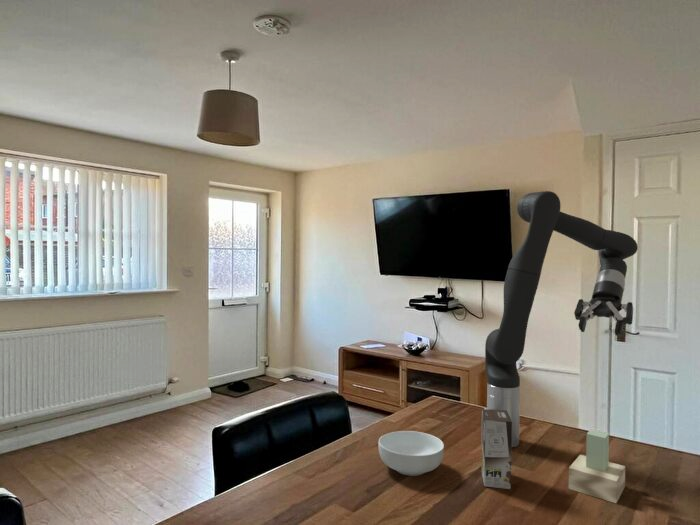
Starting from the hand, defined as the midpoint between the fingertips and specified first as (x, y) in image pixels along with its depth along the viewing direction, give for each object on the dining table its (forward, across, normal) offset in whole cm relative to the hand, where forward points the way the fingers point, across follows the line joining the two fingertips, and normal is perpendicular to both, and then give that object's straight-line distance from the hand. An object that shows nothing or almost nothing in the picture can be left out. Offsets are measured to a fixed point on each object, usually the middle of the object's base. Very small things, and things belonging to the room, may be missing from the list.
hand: (599, 332), depth 127 cm
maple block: (+38, +4, +11) cm, 40 cm away
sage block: (+34, +4, +8) cm, 35 cm away
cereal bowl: (+53, -35, -3) cm, 63 cm away
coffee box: (+46, -16, +3) cm, 49 cm away
